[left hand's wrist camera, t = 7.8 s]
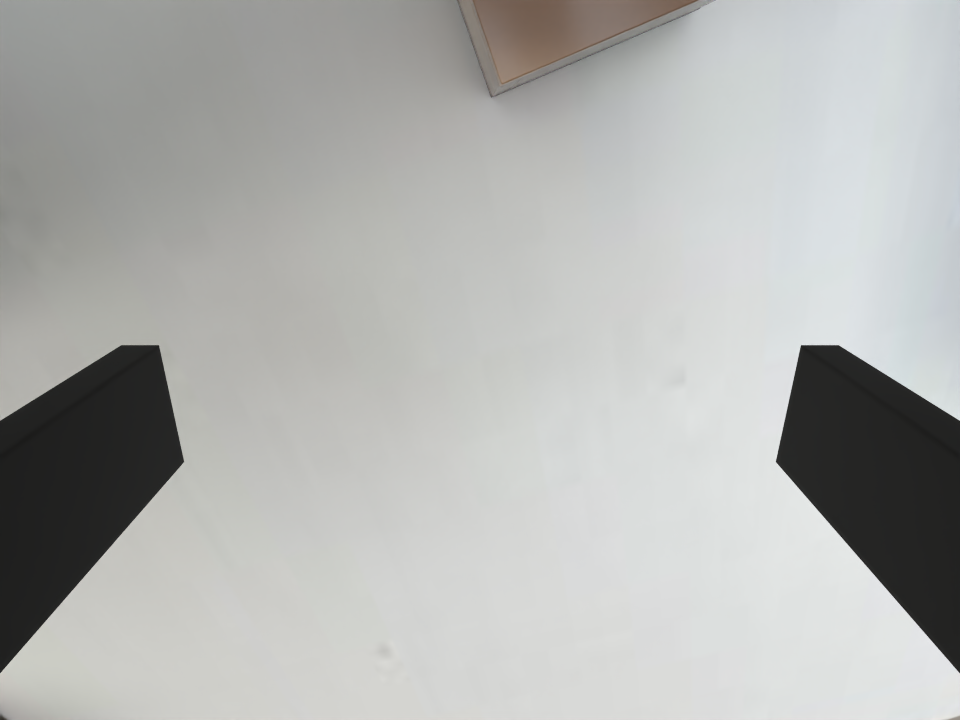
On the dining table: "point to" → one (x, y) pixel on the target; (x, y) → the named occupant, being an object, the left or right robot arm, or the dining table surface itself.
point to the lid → (557, 28)
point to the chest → (497, 89)
